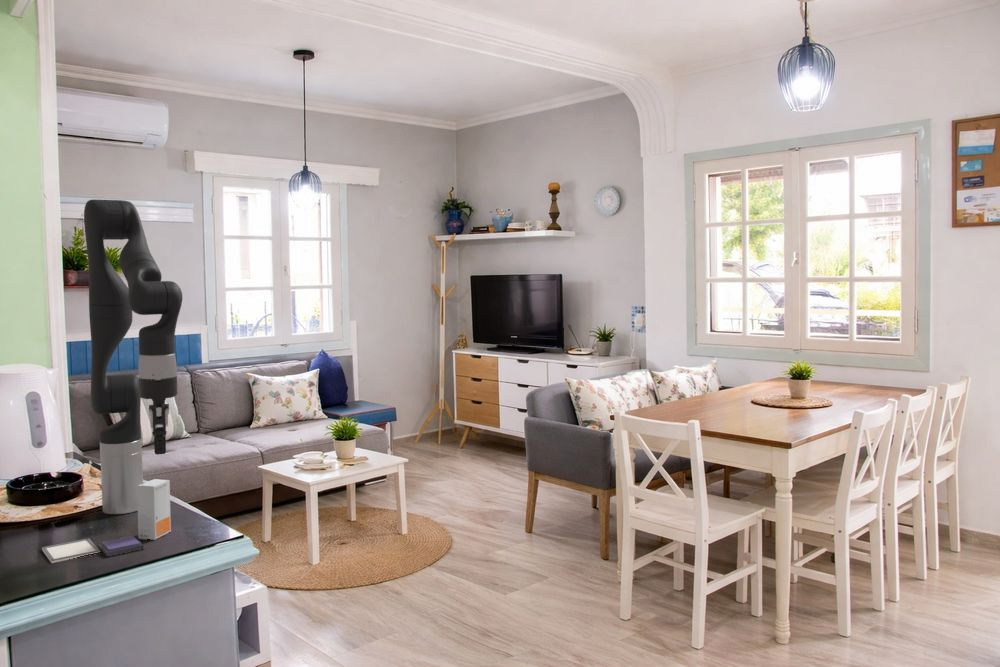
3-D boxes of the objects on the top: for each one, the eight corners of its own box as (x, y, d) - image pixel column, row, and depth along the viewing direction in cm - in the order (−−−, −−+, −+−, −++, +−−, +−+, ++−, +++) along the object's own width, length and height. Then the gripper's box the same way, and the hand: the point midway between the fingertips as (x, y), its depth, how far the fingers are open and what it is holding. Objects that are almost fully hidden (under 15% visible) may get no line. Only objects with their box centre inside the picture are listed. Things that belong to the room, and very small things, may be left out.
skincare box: (155, 540, 173) (153, 486, 172) (137, 539, 174) (135, 485, 173) (172, 531, 179) (170, 479, 178) (155, 530, 180) (153, 478, 179)
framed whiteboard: (42, 549, 168) (42, 547, 168) (89, 540, 173) (89, 538, 173) (51, 563, 160) (51, 560, 160) (100, 553, 166) (100, 550, 166)
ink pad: (99, 548, 169) (98, 541, 169) (134, 541, 173) (133, 534, 173) (107, 557, 163) (107, 550, 163) (143, 549, 168) (143, 543, 168)
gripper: (139, 371, 175) (142, 443, 177) (137, 380, 162) (140, 458, 164) (176, 369, 178) (178, 440, 180) (177, 378, 165) (179, 455, 167)
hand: (160, 449), depth 172 cm, fingers open, 8 cm apart
